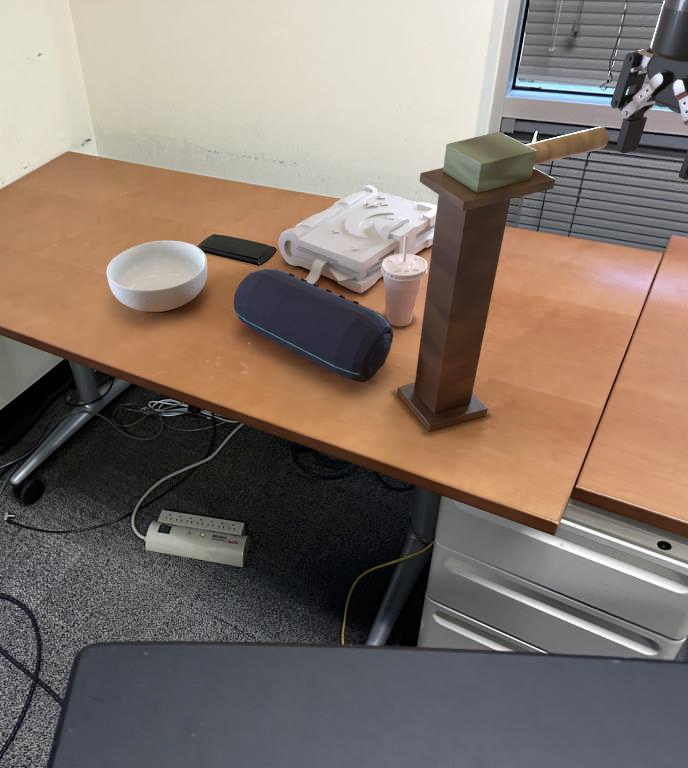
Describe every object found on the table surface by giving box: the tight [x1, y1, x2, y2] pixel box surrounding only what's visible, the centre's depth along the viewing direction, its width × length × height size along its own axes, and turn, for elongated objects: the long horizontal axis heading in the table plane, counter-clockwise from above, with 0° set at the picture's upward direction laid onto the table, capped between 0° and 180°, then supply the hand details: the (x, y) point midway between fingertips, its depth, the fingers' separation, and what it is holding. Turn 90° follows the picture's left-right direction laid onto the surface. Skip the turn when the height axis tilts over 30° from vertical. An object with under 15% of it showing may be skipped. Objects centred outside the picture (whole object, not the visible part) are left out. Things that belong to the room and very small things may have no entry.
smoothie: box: [381, 234, 428, 327], centre depth 100 cm, size 6×6×14 cm
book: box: [278, 184, 437, 294], centre depth 118 cm, size 19×28×8 cm
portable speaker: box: [232, 268, 394, 383], centre depth 98 cm, size 25×10×10 cm, turn 40°
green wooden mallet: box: [442, 126, 610, 193], centre depth 70 cm, size 16×6×3 cm, turn 105°
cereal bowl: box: [106, 239, 208, 313], centre depth 115 cm, size 17×17×7 cm
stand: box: [396, 166, 556, 433], centre depth 80 cm, size 10×8×31 cm
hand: (656, 163), depth 75 cm, fingers open, 8 cm apart
